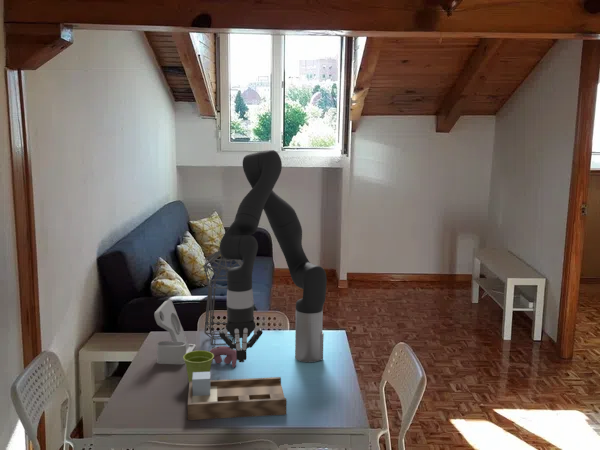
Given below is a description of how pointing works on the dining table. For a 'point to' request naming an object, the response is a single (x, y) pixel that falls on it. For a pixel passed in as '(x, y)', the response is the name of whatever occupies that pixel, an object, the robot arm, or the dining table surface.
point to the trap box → (238, 399)
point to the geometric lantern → (209, 298)
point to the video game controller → (224, 351)
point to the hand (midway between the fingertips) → (241, 361)
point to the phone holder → (179, 345)
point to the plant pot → (198, 362)
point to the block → (201, 383)
